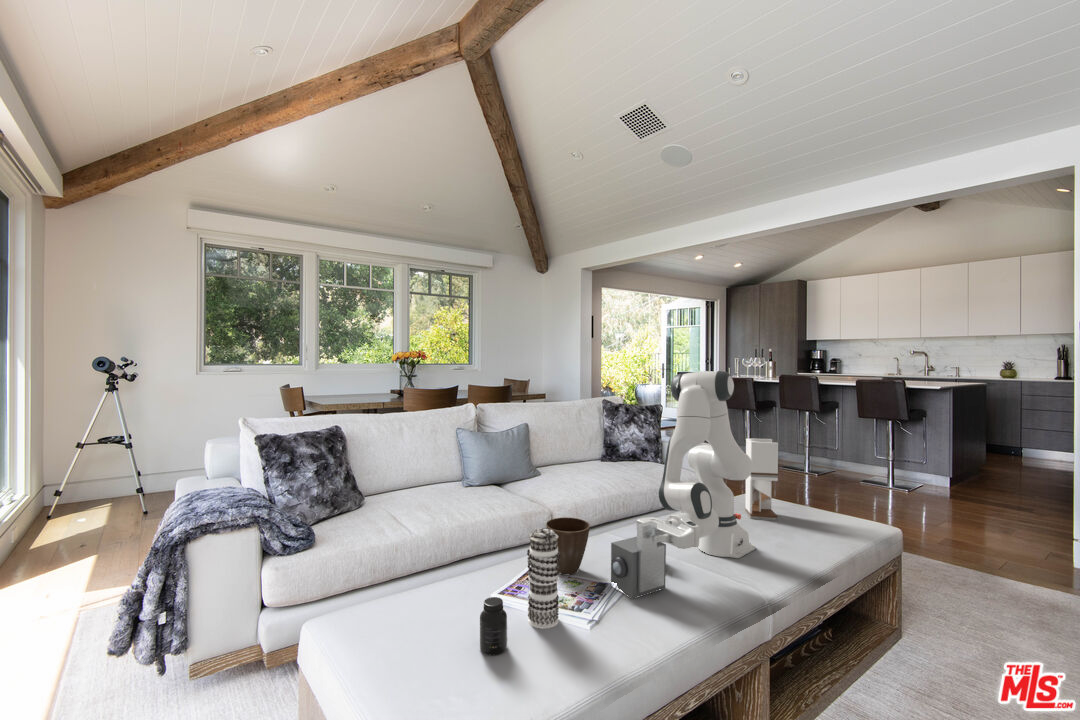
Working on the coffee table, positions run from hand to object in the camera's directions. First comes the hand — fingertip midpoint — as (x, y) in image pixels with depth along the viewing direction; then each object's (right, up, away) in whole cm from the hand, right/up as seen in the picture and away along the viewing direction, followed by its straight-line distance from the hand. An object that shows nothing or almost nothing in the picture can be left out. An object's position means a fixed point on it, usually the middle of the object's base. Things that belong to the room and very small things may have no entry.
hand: (646, 536), depth 159 cm
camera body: (-1, -19, +6) cm, 20 cm away
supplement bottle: (-44, -19, -29) cm, 56 cm away
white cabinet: (+70, -19, +81) cm, 109 cm away
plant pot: (-23, -18, +19) cm, 35 cm away
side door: (+2, -17, +1) cm, 17 cm away
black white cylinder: (-32, -19, -15) cm, 40 cm away
